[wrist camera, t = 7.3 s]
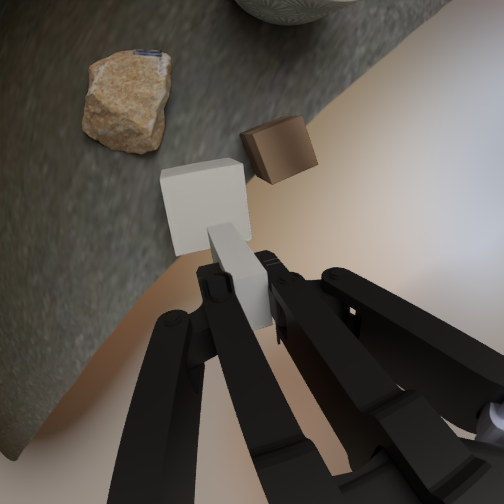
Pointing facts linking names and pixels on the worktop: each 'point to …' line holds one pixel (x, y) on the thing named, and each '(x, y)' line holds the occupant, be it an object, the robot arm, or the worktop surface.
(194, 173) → the block
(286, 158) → the walnut block
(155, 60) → the stone
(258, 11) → the planter
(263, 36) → the worktop surface
